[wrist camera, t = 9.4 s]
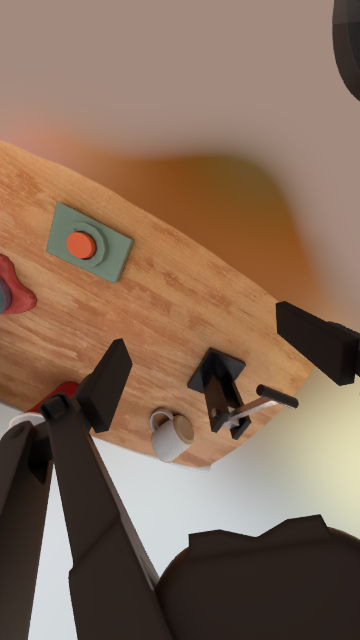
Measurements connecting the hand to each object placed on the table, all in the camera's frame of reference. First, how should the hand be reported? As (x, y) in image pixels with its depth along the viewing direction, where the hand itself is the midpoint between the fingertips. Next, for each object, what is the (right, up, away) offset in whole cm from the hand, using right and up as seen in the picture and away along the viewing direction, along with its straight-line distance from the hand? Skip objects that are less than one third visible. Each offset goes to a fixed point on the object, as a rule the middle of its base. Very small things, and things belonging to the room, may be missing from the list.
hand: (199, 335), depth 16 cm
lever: (+9, -11, +13) cm, 20 cm away
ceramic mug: (-4, -25, +33) cm, 41 cm away
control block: (-17, +14, +17) cm, 28 cm away
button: (-17, +13, +13) cm, 25 cm away
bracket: (+6, -11, +27) cm, 30 cm away
